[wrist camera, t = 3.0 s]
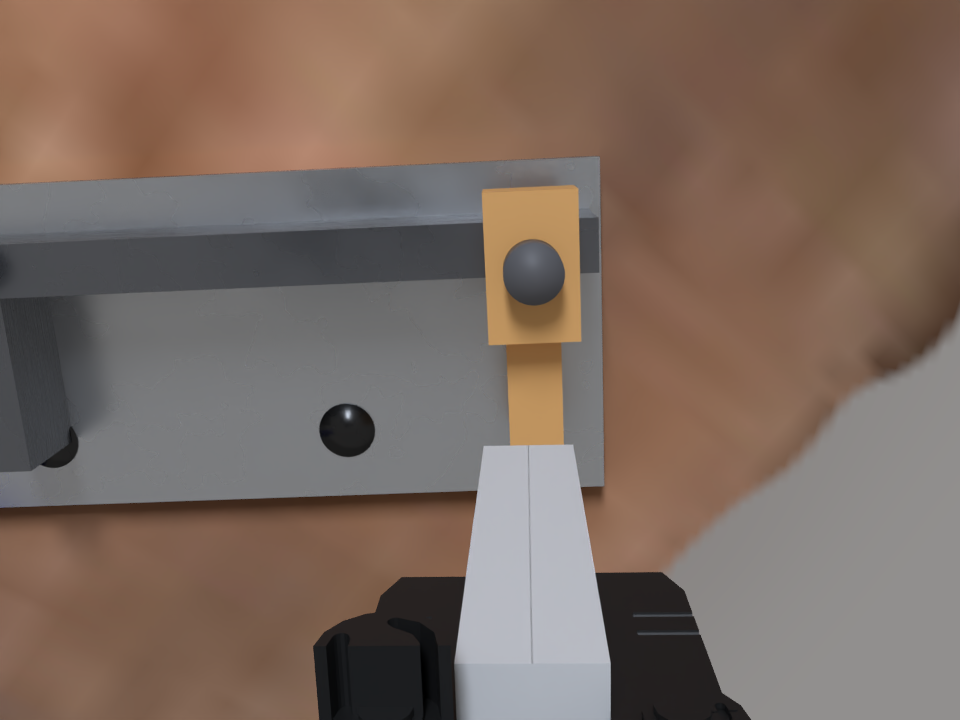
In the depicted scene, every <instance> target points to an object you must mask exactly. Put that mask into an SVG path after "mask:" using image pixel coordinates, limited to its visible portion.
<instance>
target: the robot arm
mask: <svg viewBox="0 0 960 720" xmlns="http://www.w3.org/2000/svg"><path fill="white" fill-rule="evenodd" d="M313 649H314V661H315V673H316V685H317V697H318V709H319V720H751V719H750V717H749V716H748V715H747V713H746V712H745V711H744V710H743V708H742V706H741V705H739V704H738V703H736V702H735V701H733V700H732V699H730V698H729V697H727V696H725V695H724V694H723V693H722V692H721V690H720V686H719V684H718V681H717V678H716V675H715V673H714V670H713V667H712V665H711V662H710V659H709V657H708V654H707V651H706V649H705V646H704V643H703V641H702V638H701V635H699V629H698V627H697V624H696V621H695V619H694V617H693V616H692V610H691V608H690V605H689V602H688V600H687V597H686V594H685V591H684V590H683V589H682V588H680V587H679V586H678V585H677V584H675V583H674V582H673V581H672V580H671V579H669V578H668V577H667V576H666V575H664V574H663V573H662V572H643V573H595V569H594V563H593V558H592V552H591V546H590V540H589V534H588V528H587V523H586V517H585V511H584V505H583V499H582V493H581V488H580V482H579V476H578V470H577V464H576V458H575V453H574V447H573V445H513V446H484V448H483V455H482V462H481V470H480V477H479V485H478V492H477V499H476V507H475V514H474V521H473V529H472V536H471V544H470V551H469V558H468V566H467V573H466V577H402V578H400V579H399V580H398V581H397V582H396V583H395V584H394V585H392V586H391V587H390V588H389V589H388V590H387V591H386V592H385V593H383V594H382V595H381V597H380V600H379V603H378V606H377V609H376V612H375V613H370V614H364V615H361V616H358V617H355V618H351V619H348V620H345V621H342V622H341V623H339V624H337V625H336V626H334V627H332V628H331V629H329V630H327V631H326V632H324V633H323V635H322V636H321V637H320V638H319V640H318V641H317V642H316V643H315V645H314V646H313Z"/></svg>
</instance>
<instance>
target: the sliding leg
mask: <svg viewBox="0 0 960 720" xmlns="http://www.w3.org/2000/svg"><path fill="white" fill-rule="evenodd" d="M482 211H483V233H484V254H485V276H486V298H487V320H488V341H489V345H506V354H507V378H508V403H509V427H510V446H513V445H564V431H563V391H562V351H561V342H581V297H580V246H579V195H578V188H577V187H576V186H574V185H563V186H541V187H520V188H498V189H483V190H482Z"/></svg>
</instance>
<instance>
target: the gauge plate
mask: <svg viewBox="0 0 960 720" xmlns="http://www.w3.org/2000/svg"><path fill="white" fill-rule="evenodd" d="M563 185H574V186H576V187H577V188H578V195H579V246H580V297H581V342H561V351H562V391H563V431H564V445H573V447H574V453H575V458H576V464H577V470H578V476H579V482H580V487H593V486H604V435H603V362H602V288H601V214H600V157H599V156H584V157H563V158H542V159H521V160H500V161H479V162H458V163H437V164H416V165H395V166H374V167H353V168H332V169H311V170H290V171H269V172H248V173H227V174H206V175H185V176H164V177H143V178H122V179H101V180H80V181H59V182H38V183H17V184H0V508H4V507H32V506H60V505H88V504H116V503H144V502H172V501H200V500H228V499H256V498H285V497H313V496H341V495H369V494H397V493H425V492H453V491H478V485H479V477H480V470H481V462H482V455H483V448H484V446H510V427H509V403H508V378H507V354H506V345H489V341H488V320H487V298H486V276H485V254H484V233H483V211H482V190H483V189H498V188H520V187H541V186H563Z"/></svg>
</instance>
